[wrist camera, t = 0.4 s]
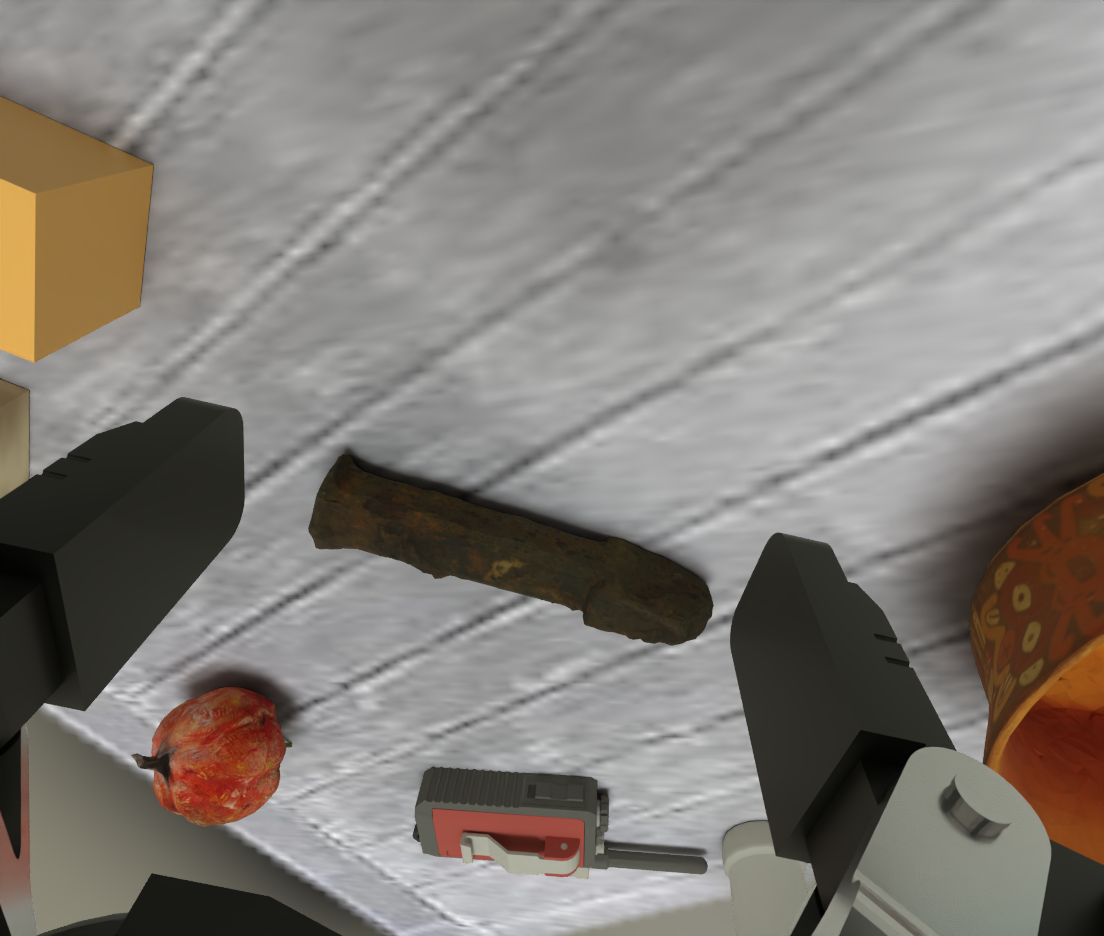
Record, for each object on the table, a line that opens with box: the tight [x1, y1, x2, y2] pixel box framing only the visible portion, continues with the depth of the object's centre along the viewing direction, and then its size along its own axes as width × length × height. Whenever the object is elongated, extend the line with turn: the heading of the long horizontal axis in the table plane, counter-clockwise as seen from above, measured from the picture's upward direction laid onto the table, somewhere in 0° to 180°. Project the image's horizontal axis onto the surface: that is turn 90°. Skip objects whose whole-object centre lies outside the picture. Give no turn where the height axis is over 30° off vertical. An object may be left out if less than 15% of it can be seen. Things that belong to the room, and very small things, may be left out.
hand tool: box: [308, 454, 713, 645], centre depth 31 cm, size 19×4×5 cm, turn 72°
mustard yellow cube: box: [0, 96, 154, 362], centre depth 24 cm, size 6×6×6 cm
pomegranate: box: [131, 687, 292, 826], centre depth 39 cm, size 7×7×10 cm
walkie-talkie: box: [413, 767, 708, 879], centre depth 43 cm, size 9×4×20 cm
